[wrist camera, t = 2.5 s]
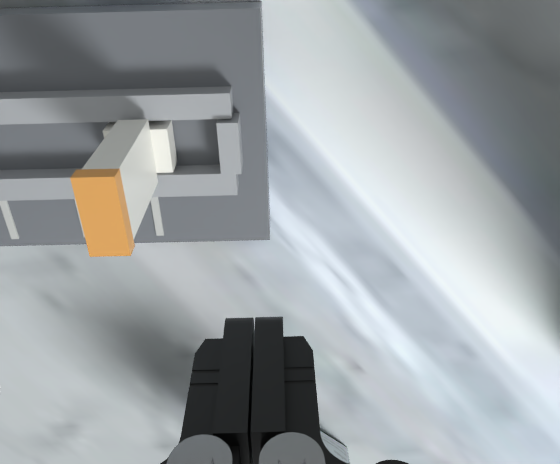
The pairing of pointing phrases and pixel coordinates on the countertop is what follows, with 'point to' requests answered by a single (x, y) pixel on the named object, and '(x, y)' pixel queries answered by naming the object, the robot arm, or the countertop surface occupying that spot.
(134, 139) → the fader tab
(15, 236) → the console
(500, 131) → the countertop surface
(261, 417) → the robot arm
